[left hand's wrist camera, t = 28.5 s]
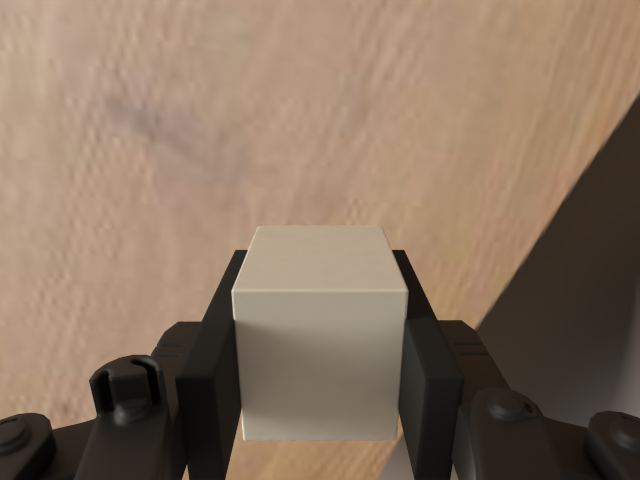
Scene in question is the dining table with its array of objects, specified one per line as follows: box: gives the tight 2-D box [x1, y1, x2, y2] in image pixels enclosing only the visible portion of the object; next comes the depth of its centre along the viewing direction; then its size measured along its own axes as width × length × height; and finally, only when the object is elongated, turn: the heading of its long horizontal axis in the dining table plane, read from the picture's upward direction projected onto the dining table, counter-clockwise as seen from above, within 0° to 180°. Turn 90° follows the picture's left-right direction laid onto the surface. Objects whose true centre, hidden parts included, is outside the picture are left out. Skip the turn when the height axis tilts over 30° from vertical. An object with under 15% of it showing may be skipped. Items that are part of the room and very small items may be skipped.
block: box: [231, 226, 409, 441], centre depth 13 cm, size 4×5×5 cm
